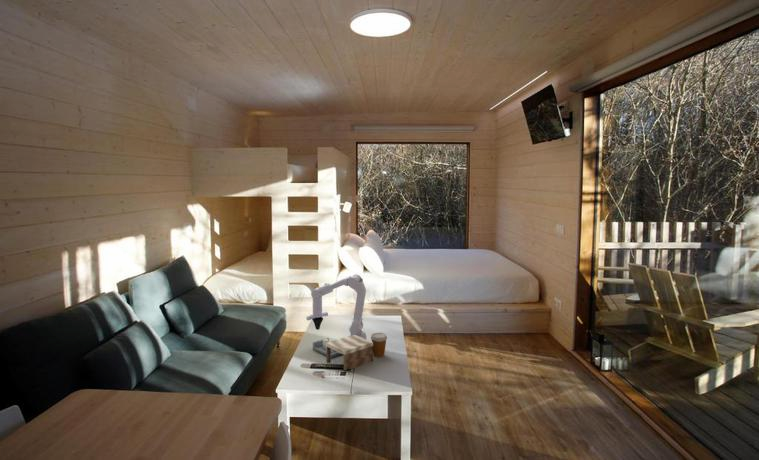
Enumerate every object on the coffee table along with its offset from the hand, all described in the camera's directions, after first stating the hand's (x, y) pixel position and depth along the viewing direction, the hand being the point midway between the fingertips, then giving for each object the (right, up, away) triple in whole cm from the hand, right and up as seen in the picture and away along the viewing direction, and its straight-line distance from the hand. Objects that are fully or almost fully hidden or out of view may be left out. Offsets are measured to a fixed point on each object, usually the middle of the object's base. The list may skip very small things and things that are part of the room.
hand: (317, 329), depth 276 cm
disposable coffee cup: (+38, -12, -16) cm, 43 cm away
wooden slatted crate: (+22, -13, -25) cm, 35 cm away
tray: (+8, -11, -10) cm, 17 cm away
